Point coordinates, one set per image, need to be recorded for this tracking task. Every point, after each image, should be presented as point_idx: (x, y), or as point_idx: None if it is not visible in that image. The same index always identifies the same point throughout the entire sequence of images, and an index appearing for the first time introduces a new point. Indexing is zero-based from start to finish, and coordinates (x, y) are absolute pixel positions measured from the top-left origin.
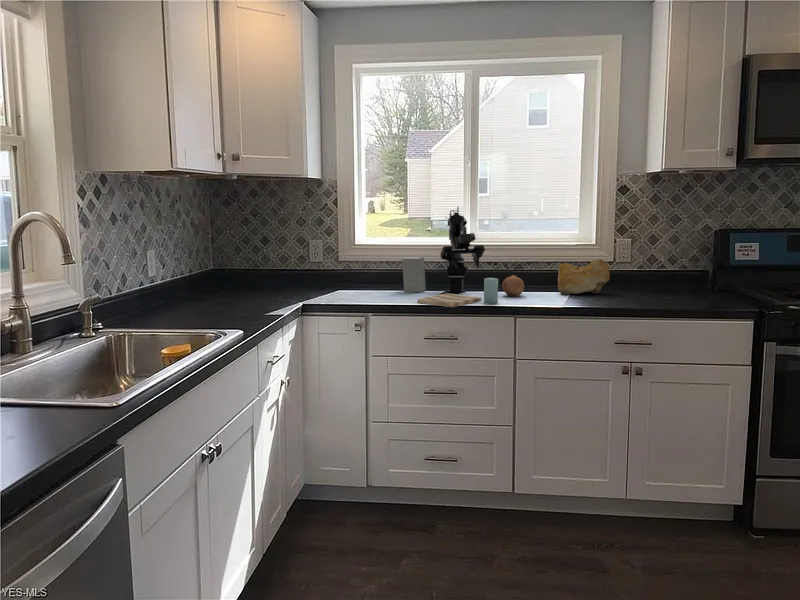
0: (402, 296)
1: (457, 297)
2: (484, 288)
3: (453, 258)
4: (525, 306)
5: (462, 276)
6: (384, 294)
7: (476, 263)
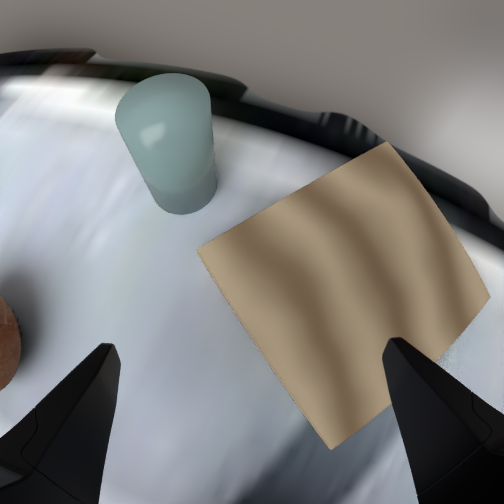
0: None
1: (327, 290)
2: (213, 143)
3: (486, 407)
4: (108, 93)
5: None
6: None
7: (103, 395)
